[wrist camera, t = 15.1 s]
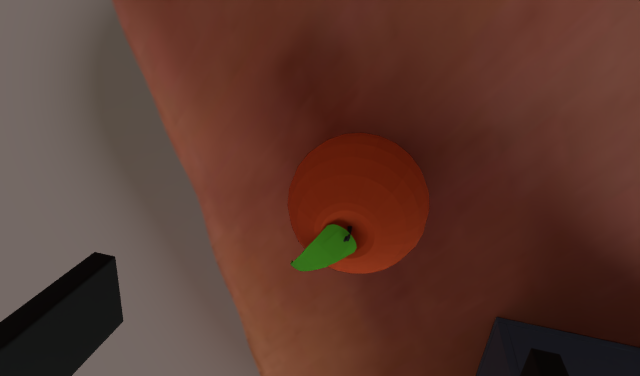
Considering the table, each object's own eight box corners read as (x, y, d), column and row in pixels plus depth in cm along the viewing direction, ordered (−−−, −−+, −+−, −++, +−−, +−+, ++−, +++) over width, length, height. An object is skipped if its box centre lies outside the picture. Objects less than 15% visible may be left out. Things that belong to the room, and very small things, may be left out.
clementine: (350, 259, 26) (328, 341, 20) (272, 182, 25) (222, 241, 19) (455, 183, 23) (469, 252, 16) (368, 90, 22) (347, 124, 15)
